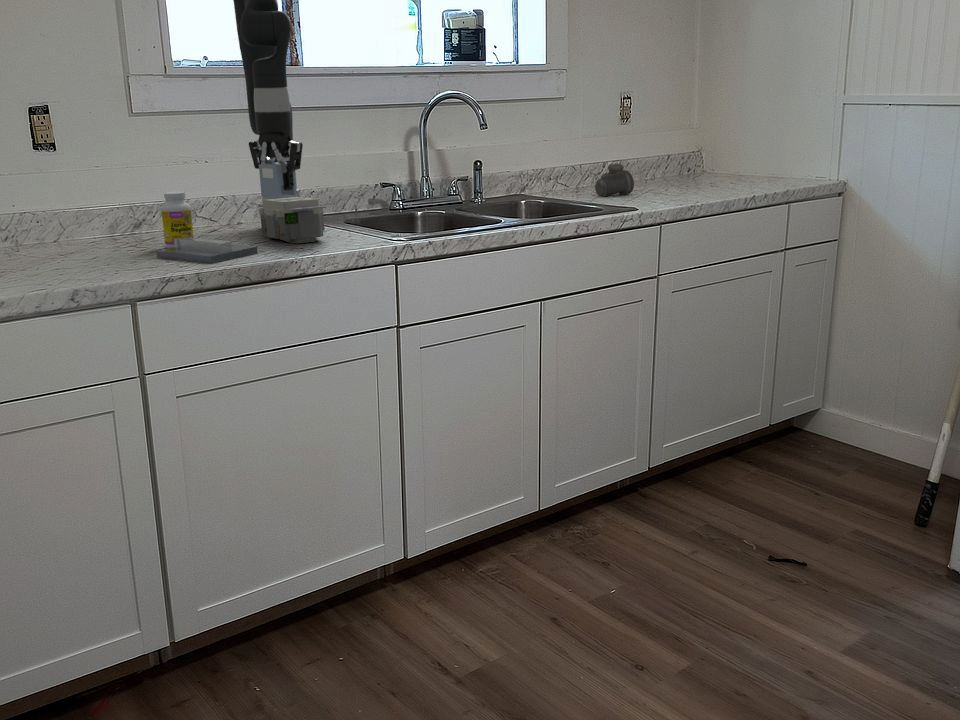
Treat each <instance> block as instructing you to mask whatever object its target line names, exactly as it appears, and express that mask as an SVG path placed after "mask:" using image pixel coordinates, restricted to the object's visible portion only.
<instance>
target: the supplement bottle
mask: <svg viewBox="0 0 960 720" xmlns="http://www.w3.org/2000/svg"><path fill="white" fill-rule="evenodd" d="M163 196H164V197H163V198H164V200H165V203H164V204H163V203H162V205H161V208H160V209H161V217H162V218H161V219H162V227H163V237H164V239H163V240H164V245H165V246H164V247H166V249H167V248H172V247H175V240H174V239H178V238H183V237H188V238H195V236H194V235H195V234H194V227H193V217H192V207H191V204H189V203H188V202H186V200H185V199H186V192H185V191H179V190H178V191H167V192H163Z"/></svg>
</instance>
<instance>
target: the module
mask: <svg viewBox="0 0 960 720" xmlns="http://www.w3.org/2000/svg"><path fill="white" fill-rule="evenodd" d="M286 165H287V166H288V164H287V163H286ZM258 170H259V172H258V173H259V182H260V183H259V185H260V194H261V198H262V197H272V198H281V197H282V194H283V195H297V175H296V174H297V173H296V170H295V171H294V172H293V180H294V186H293V189H292V190H284V183H283V173H284V172H283V170H282V164H280V163H278V162H274V163H267V164H259V169H258Z"/></svg>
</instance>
